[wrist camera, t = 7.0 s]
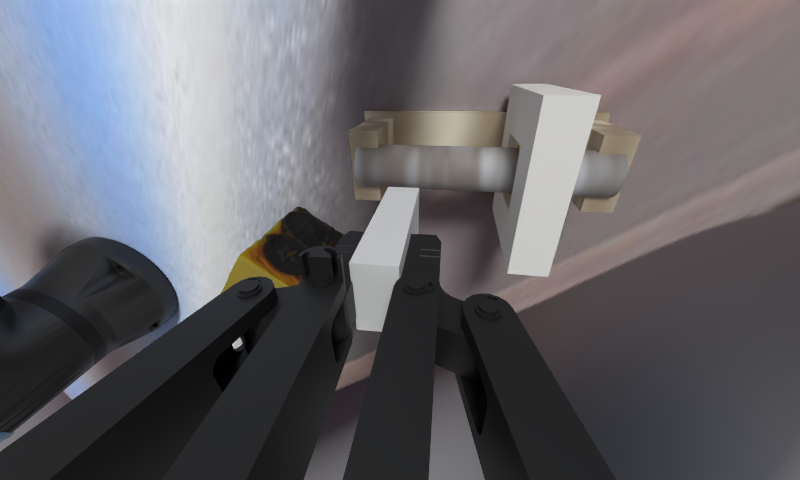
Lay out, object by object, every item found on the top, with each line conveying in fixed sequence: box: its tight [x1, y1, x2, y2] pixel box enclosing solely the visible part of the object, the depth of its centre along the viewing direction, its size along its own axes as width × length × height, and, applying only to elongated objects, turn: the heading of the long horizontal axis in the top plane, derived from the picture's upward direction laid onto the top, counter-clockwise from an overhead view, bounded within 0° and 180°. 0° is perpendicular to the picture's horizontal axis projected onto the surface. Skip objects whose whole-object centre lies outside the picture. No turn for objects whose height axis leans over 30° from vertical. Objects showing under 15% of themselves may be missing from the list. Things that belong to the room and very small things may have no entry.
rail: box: [349, 111, 641, 213], centre depth 22 cm, size 19×6×8 cm, turn 91°
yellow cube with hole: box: [221, 207, 343, 293], centre depth 31 cm, size 10×10×10 cm
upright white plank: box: [492, 84, 601, 277], centre depth 20 cm, size 2×10×10 cm, turn 1°
